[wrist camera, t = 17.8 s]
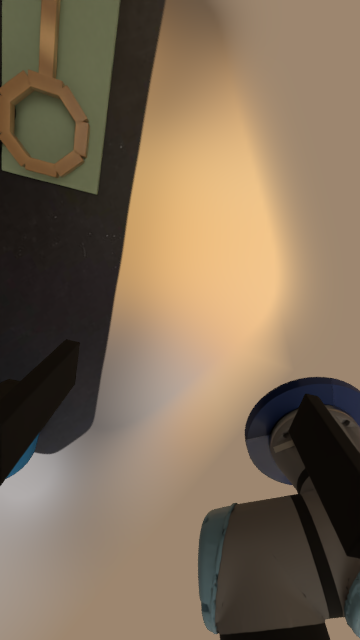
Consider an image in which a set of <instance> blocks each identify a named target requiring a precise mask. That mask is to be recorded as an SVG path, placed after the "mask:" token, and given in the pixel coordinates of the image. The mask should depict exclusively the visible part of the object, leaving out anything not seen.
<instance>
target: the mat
mask: <svg viewBox="0 0 360 640" xmlns="http://www.w3.org/2000/svg"><path fill="white" fill-rule="evenodd" d="M120 2H121V0H61V1H60V18H59V35H58V52H57V69H56V79H58V80H61V81H63V83H64V84H65V86H66V85H67V86H68V87H69V89H70V90H71V92H72V94H73V95H74V97H75V99H76V100H77V102H78V103H79V105H80V107H81V108H82V110H83V112H84V113H85V115H86V116H87V118H88V120H89V122H87V123H89V125H90V135H89V144H88V154H87V158H84V157H82V158H83V159H84V161H85V162H84V163H83V164H81V165H80V166H79V167H77V168H76V169H74V170H73V171H72V172H70V173H69V174H67V175H66V176H64V177H60V176H59V178H56V177H52V176H48V175H44V174H40V173H37V172H33V171H29V170H26V169H25V167H21V166H20V165H19V163H18V162H17V161H16V159H15V158H14V157H13V156H12V154H11V153H10V152H9V150H8V149H7V148H6V146H5V145H4V144H2V170H3V171H6V172H10V173H14V174H18V175H22V176H26V177H30V178H34V179H38V180H42V181H46V182H50V183H53V184H57V185H61V186H65V187H69V188H73V189H77V190H81V191H85V192H89V193H93V194H97V195H98V188H99V179H100V171H101V162H102V154H103V145H104V137H105V128H106V120H107V112H108V103H109V95H110V86H111V78H112V69H113V61H114V52H115V44H116V35H117V27H118V18H119V10H120ZM40 21H41V0H2V86H3V85H4V84H5V83H7V82H8V81H9V80H11V79H12V78H13V77H15V76H16V75H17V74H18V73H20V72H21V71H22V70H24V71H25V72H26V74H27V75H28V69H29V70H32V71H35V72H38V71H39V46H40ZM15 109H16V117H15V128H14V134H15V136H16V137H17V138H18V140H19V141H20V142H21V144H22V145H23V146H24V148H25V149H26V151H27V152H28V153H29V155H30V156H31V157H32V158H35V159H39V160H42V161H46V162H49V163H53V164H55V163H56V162H57V161H59V160H60V159H62V158H63V157H64V156H66V155H67V154H69V153H70V152H71V151H73V147H74V136H75V124H76V123H75V121H74V119H73V118H72V116H71V115H70V113H69V112H68V110H67V108H66V107H65V105H64V104H63V102H62V101H61V99H58V98H55V97H52V96H49V95H46V94H43V93H40V92H37V91H34V92H32V93H31V94H30V95H28V96H27V97H26V98H24V99H23V100H22V101H20V102H19V103H18V104H16V105H15Z"/></svg>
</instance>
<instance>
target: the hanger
mask: <svg viewBox="0 0 360 640" xmlns="http://www.w3.org/2000/svg"><path fill="white" fill-rule="evenodd" d="M60 1H61V0H41V21H40V46H39V71H38V72H35V71H32V70H29V69H28V75H27V74H26V72H25V71H24V70H22V71H21V72H20V73H18V74H17V75H16V76H15V77H13V78H12V79H11V80H9V81H8V82H7V83H5V84H4V85H3V86H1V87H0V94H1V95H2V96H1V95H0V133H1V134H0V140H1V141H2V143H3V144H4V145H5V146H6V148H7V149H8V150H9V152H10V153H11V154H12V156H13V157H14V158H15V159H16V161H17V162H18V163H19V165H20V166H21V167H25V169H26V170H29V171H33V172H37V173H40V174H44V175H48V176H52V177H56V178H59V176H60V177H64V176H66V175H67V174H69V173H70V172H72V171H73V170H74V169H76V168H77V167H79V166H80V165H81V164H83V163H84V162H85V161H84V159H83V158H82V157H84V158H87V154H88V144H89V135H90V125H89V123H87V122H89V120H88V118H87V116H86V115H85V113H84V112H83V110H82V108H81V107H80V105H79V103H78V102H77V100H76V99H75V97H74V95H73V94H72V92H71V90H70V89H69V87H68V86H67V85H66V86H65V84H64V83H63V81H61V80H58V79H56V69H57V52H58V35H59V18H60ZM34 91H37V92H40V93H43V94H46V95H49V96H52V97H55V98H58V99H61V101H62V102H63V104H64V105H65V107H66V108H67V110H68V112H69V113H70V115H71V116H72V118H73V119H74V121H75V123H76V124H75V136H74V147H73V151H71V152H70V153H69V154H67V155H66V156H64V157H63V158H62V159H60V160H59V161H57V162H56V163H55V164H53V163H49V162H46V161H42V160H39V159H35V158H32V157H31V156H30V155H29V153H28V152H27V151H26V149H25V148H24V146H23V145H22V144H21V142H20V141H19V140H18V138H17V137H16V136H15V134H14V128H15V105H16V104H18V103H19V102H20V101H22V100H23V99H24V98H26V97H27V96H28V95H30V94H31V93H32V92H34Z"/></svg>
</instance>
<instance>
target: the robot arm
mask: <svg viewBox="0 0 360 640" xmlns="http://www.w3.org/2000/svg"><path fill="white" fill-rule="evenodd" d="M79 345H80V342H75V341H71V340H67V339H66V340H65V341H64V342H63V343H62V344H61V345H60V346H58V347H57V348H56V349H55V350H54V351H53V352H52V353H51V354H50V355H49V356H48V357H46V358H45V359H44V360H43V361H42V362H41V363H40V364H39V365H38V366H37V367H36V368H34V369H33V370H32V371H31V372H30V373H29V374H28V375H27V376H26V377H25V378H24V379H22V380H21V381H16V380H11V379H8V380H6V381H4V382H1V383H0V486H1V484H2V483H3V482H4V480H5V479H6V478H7V476H8V475H9V473H10V472H11V471H12V469H13V468H14V467H15V465H16V464H17V463H18V461H19V460H20V458H21V457H22V456H23V454H24V453H25V452H26V450H27V449H28V448H29V446H30V445H31V443H32V442H33V441H34V439H35V438H36V437H37V435H38V434H39V432H40V431H41V430H42V428H43V427H44V426H45V424H46V423H47V422H48V420H49V419H50V417H51V416H52V415H53V413H54V412H55V411H56V409H57V408H58V407H59V405H60V404H61V402H62V401H63V400H64V398H65V397H66V396H67V394H68V393H69V391H70V390H71V389H72V387H73V386H74V385H75V379H76V371H77V362H78V354H79ZM269 448H270V451H271V454H272V457H273V459H274V461H275V463H276V465H277V466H278V467H279V469H280V470H281V471H282V472H283V474H284V475H285V476H286V477H287V479H288V480H289V481H290V482H291V484H292V485H293V486H294V487H295V488H296V490H297V492H298V494H296V495H290V496H284V497H279V498H272V499H266V500H260V501H254V502H248V503H243V504H237V503H233V504H232V505H231V506H227V507H223V508H219V509H214V510H212V511H210V512H209V513H208V514H207V515H206V517H205V519H204V521H203V524H202V528H201V533H200V539H199V553H198V554H199V555H198V578H199V579H198V580H199V595H200V600H201V606H202V616H203V620H204V623H205V626H206V628H207V629H208V630H209V631H211V632H213V633H214V634H218V633H219V634H220V640H330V637H329V635H328V631H327V628H326V625H325V619H330V618H338V617H345V618H346V621H347V624H348V625H349V626H350V627H351V628H352V630H353V632H354V633H355V634H356V635H357V636H358V637H359V638H360V427H359V426H358V424H357V423H356V422H355V420H354V419H353V418H352V417H351V415H349V414H348V413H347V412H346V411H344V410H343V409H341V408H339V407H336V406H333V405H328V404H323V403H322V401H321V400H320V399H319V397H318V396H314V395H309V394H305V395H304V398H303V400H302V402H301V404H300V406H299V408H296V409H294V410H292V411H290V412H288V413H287V414H285V415H284V416H283V417H282V418H280V419H279V420H278V421H277V423H276V424H275V425H274V427H273V428H272V431H271V433H270V436H269Z"/></svg>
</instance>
